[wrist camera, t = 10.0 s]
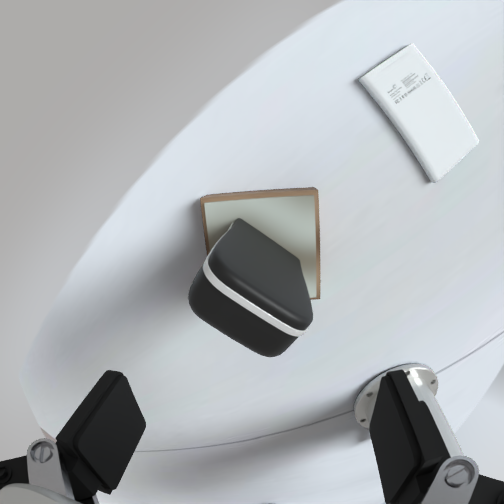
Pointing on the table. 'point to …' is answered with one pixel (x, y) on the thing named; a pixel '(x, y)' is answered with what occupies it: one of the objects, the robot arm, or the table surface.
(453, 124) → the external hard drive
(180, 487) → the table surface
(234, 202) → the plinth
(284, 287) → the battery charger
